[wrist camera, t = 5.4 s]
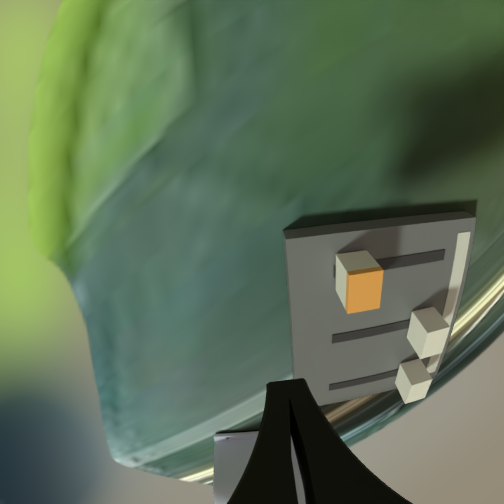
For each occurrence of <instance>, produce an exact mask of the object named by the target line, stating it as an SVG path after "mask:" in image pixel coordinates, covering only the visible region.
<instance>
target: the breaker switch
mask: <svg viewBox="0 0 504 504" xmlns="http://www.w3.org/2000/svg"><path fill="white" fill-rule="evenodd" d="M383 271H384V270H383V269H382V268H381V267H380V265H379V264H378V263H377V262H376V261H375V259H374V258H373V257H372V256H371V255H370V253H369V252H368V251H367V250H364V251H357V252H349V253H342V254H336V292H337V294H338V296H339V298H340V300H341V302H342V304H343V306H344V308H345V310H346V312H347V314H351V313H356V312H362V311H367V310H373V309H378V308H380V300H381V291H382V282H383Z"/></svg>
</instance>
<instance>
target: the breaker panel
mask: <svg viewBox="0 0 504 504" xmlns="http://www.w3.org/2000/svg"><path fill="white" fill-rule="evenodd" d="M475 224H476V217H475V216H473V215H471V214H469V213H468V212H466V211H456V212H446V213H435V214H425V215H415V216H405V217H396V218H386V219H377V220H368V221H358V222H349V223H340V224H332V225H323V226H314V227H306V228H297V229H289V230H282V231H283V242H284V253H285V266H286V278H287V291H288V305H289V319H290V334H291V350H292V368H293V379H299V378H304V379H305V380H306V382H307V384H308V387H309V389H310V391H311V393H312V395H313V397H314V399H315V401H316V402H317V404H318V406H321V405H327V404H332V403H337V402H342V401H347V400H352V399H356V398H361V397H365V396H369V395H374V394H378V393H382V392H386V391H389V390H393V389H397V388H398V390H399V392H400V395H401V397H402V399H403V401H404V403H405V404H407V403H410V402H413V401H416V400H419V399H422V398H425V396H426V394H427V391H428V389H429V386H430V384H431V381H432V378H433V377H436V375H437V373H438V370H439V367H440V365H441V362H442V359H443V357H444V354H445V351H446V348H447V345H448V342H449V339H450V336H451V332H452V329H453V326H454V323H455V319H456V316H457V312H458V308H459V305H460V301H461V297H462V293H463V289H464V284H465V280H466V275H467V271H468V266H469V261H470V255H471V250H472V244H473V238H474V231H475ZM364 250H367V251H368V252H369V253H370V255H371V256H372V257H373V258H374V259H375V261H376V262H377V263H378V264H379V265H380V267H381V268H382V269H383V270H384V271H383V282H382V291H381V300H380V308H378V309H373V310H367V311H362V312H356V313H351V314H347V312H346V310H345V308H344V306H343V304H342V302H341V300H340V298H339V296H338V294H337V292H336V254H342V253H349V252H357V251H364Z"/></svg>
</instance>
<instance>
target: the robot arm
mask: <svg viewBox="0 0 504 504" xmlns="http://www.w3.org/2000/svg"><path fill="white" fill-rule="evenodd" d="M266 386H267V392H266V402H265V408H264V413H263V418H262V422H261V425H260V429H259V431H254V432H241V433H224V434H215V435H214V440H215V453H214V476H213V495H214V503H215V504H412V503H411V502H409V501H408V500H406V499H405V498H403V497H402V496H400V495H399V494H398V493H396V492H395V491H393V490H392V489H391V488H390V487H388V486H387V485H386V484H385V483H384V482H382V481H381V480H380V479H379V478H378V477H377V476H376V475H374V474H373V473H372V472H371V471H370V470H369V469H368V468H366V466H365V465H364V464H363V463H362V462H361V461H360V460H359V459H358V458H357V457H356V456H355V455H354V454H353V453H352V452H351V450H350V449H349V448H348V447H347V446H346V444H345V443H344V442H343V441H342V439H341V438H340V437H339V436H338V434H337V433H336V432H335V430H334V429H333V427H332V426H331V425H330V423H329V422H328V420H327V419H326V417H325V416H324V414H323V413H322V411H321V409H320V408H319V406H318V404H317V402H316V401H315V399H314V397H313V395H312V393H311V391H310V389H309V387H308V384H307V382H306V380H305V379H304V378H299V379H292V380H284V381H276V382H269V383H268V384H267V385H266Z"/></svg>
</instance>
